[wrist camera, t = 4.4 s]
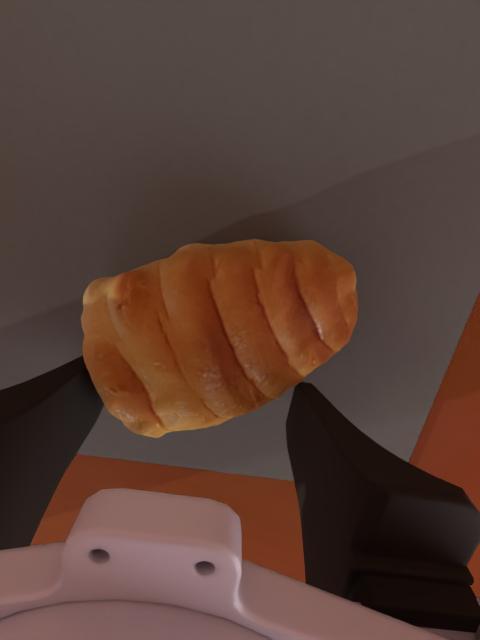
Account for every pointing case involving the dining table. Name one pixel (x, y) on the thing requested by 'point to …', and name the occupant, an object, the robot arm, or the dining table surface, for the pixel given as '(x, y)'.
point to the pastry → (214, 330)
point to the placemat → (245, 185)
